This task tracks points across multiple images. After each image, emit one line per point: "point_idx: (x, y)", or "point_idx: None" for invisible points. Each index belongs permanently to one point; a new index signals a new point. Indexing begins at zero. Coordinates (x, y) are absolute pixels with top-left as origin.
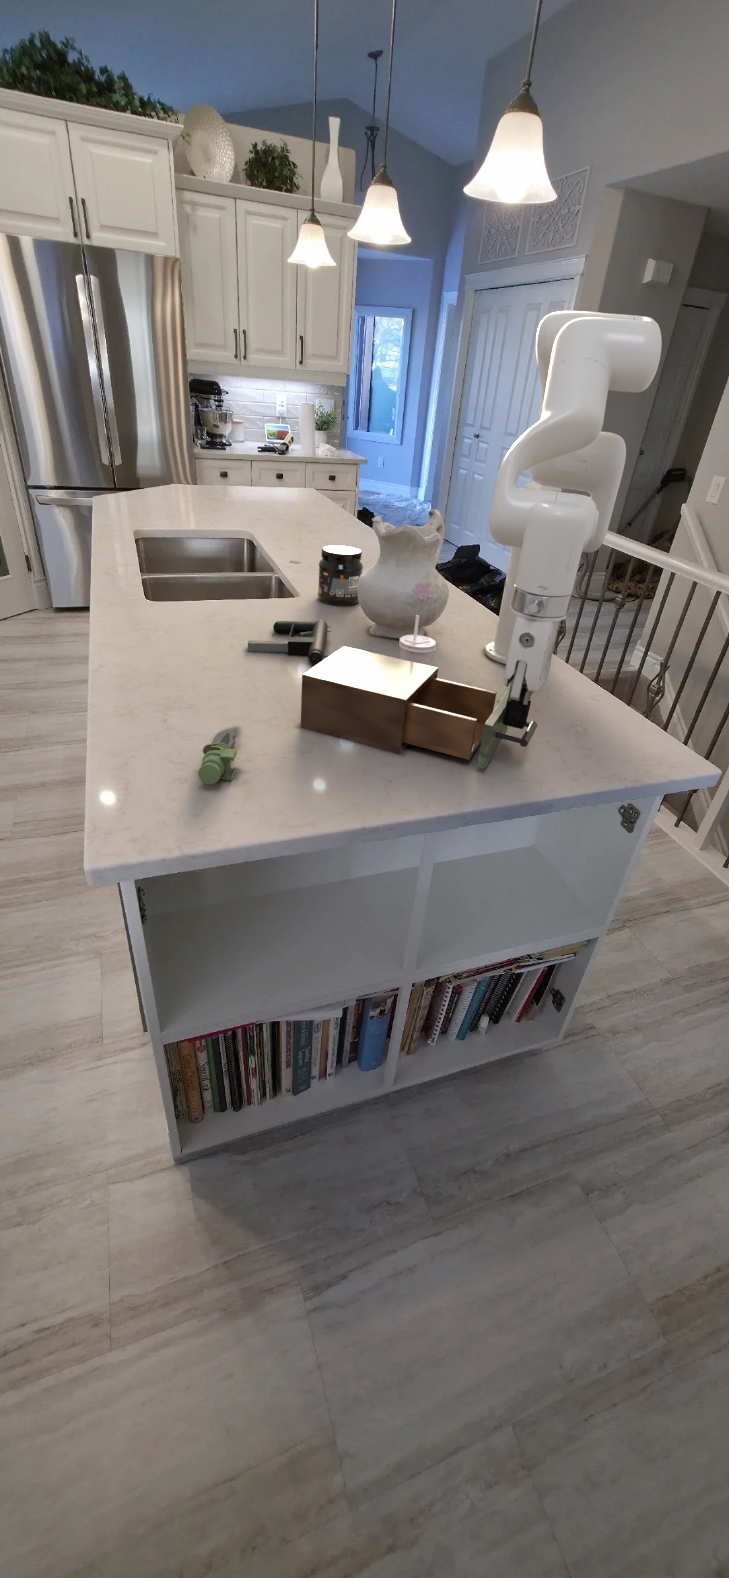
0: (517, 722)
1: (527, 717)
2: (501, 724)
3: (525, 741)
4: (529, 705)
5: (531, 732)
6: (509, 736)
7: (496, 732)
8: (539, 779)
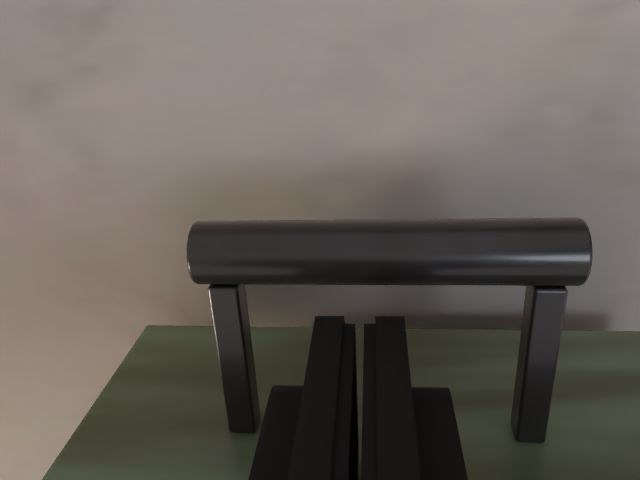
0: (450, 397)
1: (317, 353)
2: None
3: (587, 249)
4: (333, 456)
5: (399, 243)
6: (544, 363)
7: (521, 443)
8: (541, 27)
